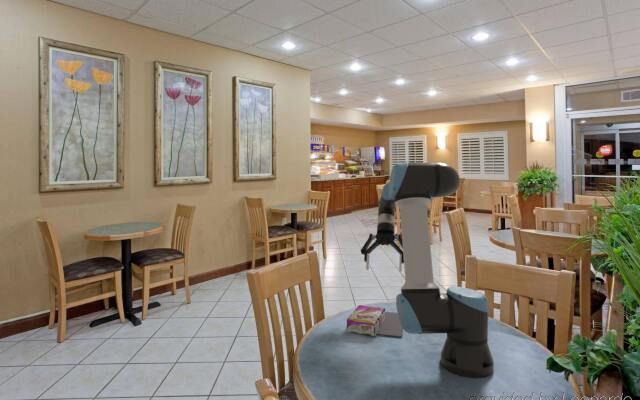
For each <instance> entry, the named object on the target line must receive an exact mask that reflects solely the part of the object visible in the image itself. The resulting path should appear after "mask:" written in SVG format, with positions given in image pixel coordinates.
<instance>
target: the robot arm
mask: <svg viewBox="0 0 640 400" xmlns="http://www.w3.org/2000/svg"><path fill="white" fill-rule="evenodd" d="M460 184H461V178H460V175H459V173H458V172H457V170H456V169H455V168H453V166H451V165H449V164H446V163H443V162H405V163H404V162H403V163H396V164H395V165H393V166H392V168H391V171H390V176H389V181H388V183H385V184H384V185H383V188H382V190H381V193H380V197H379V198H378V209H377V210H378V211H377V212H378V213H377V225H376V234H373V233H369V235H368V238H367V240H366V241H365V242H364V245H362V248H361V249H360V254H361V255H364V257H363V258H364V259H363V260H364V261H363V262H365V263H366V264H365V268H366V271H369V268H370V257H371V256H370V253H372V252H373V251H374V250H375V249H376V248H378V247H379V246H380V245H381V246H391V247H392V248H393V249H394V250H395V251H396V252H397V253H398V254H399V267H398V268H399V272H402V270H403V269H404V280H405V281H404V284H403V285H402V287H400V293H399V294H397V295H396V297H395V306H396V313H398V316H399V320H400V323H401V326H402V328H403V331H404V332H406V333H407V334H411V335H412V334H413V335H423V334H425V335H427V334H428V335H429V334H430V335H431V334H446V337H445V341H444V344H443V346H442V349H441V352H440V364H441V365H442V367H444V368H445V369H446V370H448V371H450V372H451V373H454V374H456V375H459V376H461V377H467V378H484V377H485V378H486V377H488V376H490V375H492V374H493V372H494V370H495V369H494V366H495V365H494V358H493V355H492V352H491V350H490V345H489V341H488V340H489V339H488V336H489V333H488V332H489V331H488V330H489V312H490V310H489V302H488V298H487V296H486V295H484V294H483V293H482V292H481V291H478V290H475V289H471V288H467V287H462V286H449V287H447V289H446V291H445V292H446V293H441V289H440V286H439V285H437V284H436V283H435V281H434V280H435V279H434V269H433V259H432V250H431V248H432V247H431V239H430V238H431V237H430V227H429V217H428V206H429V205H430V203H432V202H433V199H436V198H445V197H448V196H451V195H453V194H454V193H456V192H457V191H458V190H459V188H460ZM396 207H397V208H398V209H399V213H400V227H401V229H400V230H401V234H399V233H398V235H395V218H396V217H395V214H396V213H395V212H396ZM375 239H376V240H375ZM373 240H375V241H374V242H373ZM395 240H396V241H398V243H399V245H400V246H399V245H398V244H397V243H396V242H395ZM371 243H372V244H371ZM401 248H402V249H401ZM402 264H403V267H404V268H403V267H402ZM402 268H403V269H402Z"/></svg>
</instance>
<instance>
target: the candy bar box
mask: <svg viewBox="0 0 640 400" xmlns="http://www.w3.org/2000/svg"><path fill="white" fill-rule="evenodd" d="M385 312H386V308H384V307H376V306H370V305H361V304H359V305H358V306H357V307H356V308H355V309H354V311H352V313H351V314H350V315H349V316H348V317H347V318H346V332H349V333H354V334H358V333H359V335H366V336H371V337H376V336H377V335H376V334H377V332H378V331H379V329H380V327H381V326H382V324H383V322H384V321H385Z"/></svg>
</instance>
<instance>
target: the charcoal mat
mask: <svg viewBox="0 0 640 400" xmlns="http://www.w3.org/2000/svg"><path fill="white" fill-rule="evenodd" d="M403 331H404V329H403V328H402V326H401V323H400V320H399V316H398V312H394V311H392V312H391V311H385V321H384V322H383V324H382V326H381V327H380V329H379V331H378V332H377V334H376V336H380V337H390V338H398V339H399V338H401V339H402V338H403ZM357 334H359V333H357ZM359 335H360V334H359Z"/></svg>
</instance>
